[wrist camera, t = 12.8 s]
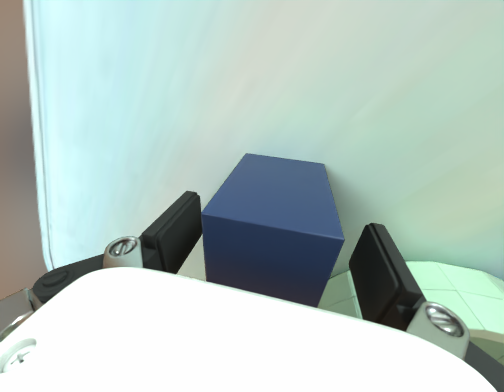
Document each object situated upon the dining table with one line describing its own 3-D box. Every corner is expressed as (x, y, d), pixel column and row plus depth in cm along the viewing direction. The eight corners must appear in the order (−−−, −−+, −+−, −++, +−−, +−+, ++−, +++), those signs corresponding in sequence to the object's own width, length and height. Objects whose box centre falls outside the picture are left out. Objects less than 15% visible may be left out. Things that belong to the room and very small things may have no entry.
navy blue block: (324, 163, 11) (345, 239, 6) (300, 251, 15) (300, 350, 10) (245, 153, 12) (200, 212, 7) (241, 239, 16) (208, 325, 10)
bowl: (613, 290, 12) (767, 393, 8) (450, 393, 20) (486, 467, 16) (321, 235, 14) (329, 294, 10) (285, 348, 22) (282, 403, 18)
